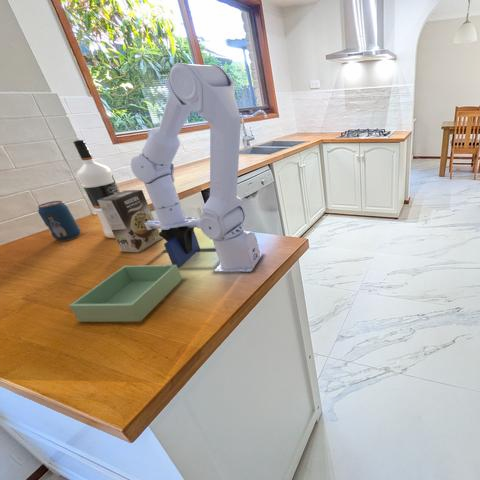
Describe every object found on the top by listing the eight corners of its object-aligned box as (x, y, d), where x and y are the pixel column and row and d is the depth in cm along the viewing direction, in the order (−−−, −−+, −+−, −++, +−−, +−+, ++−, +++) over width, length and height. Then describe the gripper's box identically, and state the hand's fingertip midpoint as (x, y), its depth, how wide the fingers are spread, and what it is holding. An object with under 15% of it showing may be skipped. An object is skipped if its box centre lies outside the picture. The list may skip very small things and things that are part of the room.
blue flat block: (200, 248, 83) (192, 226, 79) (179, 268, 74) (169, 243, 70) (195, 248, 83) (187, 226, 79) (173, 268, 74) (163, 244, 71)
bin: (183, 280, 69) (176, 264, 67) (141, 323, 57) (131, 305, 55) (132, 281, 70) (124, 265, 68) (80, 323, 58) (68, 305, 56)
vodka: (108, 232, 99) (61, 141, 85) (139, 224, 103) (100, 136, 89) (104, 242, 92) (53, 144, 78) (138, 233, 96) (95, 139, 82)
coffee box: (139, 252, 84) (114, 200, 76) (121, 252, 85) (95, 200, 77) (163, 238, 91) (142, 189, 84) (146, 237, 93) (124, 189, 85)
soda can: (79, 231, 102) (60, 198, 96) (85, 235, 98) (66, 201, 92) (53, 239, 97) (32, 205, 91) (58, 244, 93) (37, 209, 87)
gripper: (127, 211, 68) (150, 260, 74) (185, 209, 67) (203, 259, 73) (148, 201, 74) (167, 247, 81) (201, 198, 73) (216, 245, 79)
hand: (185, 252), depth 77 cm, fingers closed on blue flat block, 2 cm apart
